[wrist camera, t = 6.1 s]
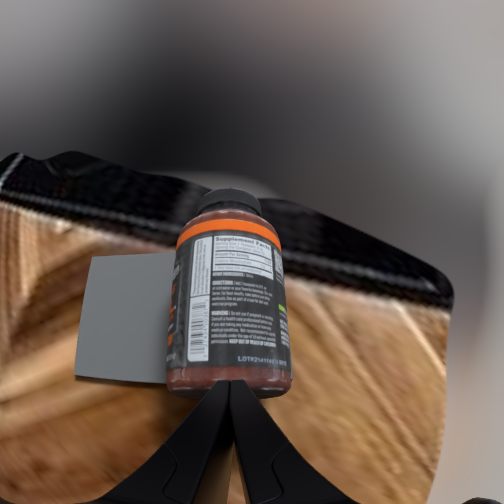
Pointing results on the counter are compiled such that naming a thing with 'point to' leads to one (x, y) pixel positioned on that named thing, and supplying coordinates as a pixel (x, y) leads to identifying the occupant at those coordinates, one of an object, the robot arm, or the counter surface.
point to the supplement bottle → (228, 301)
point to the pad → (127, 318)
